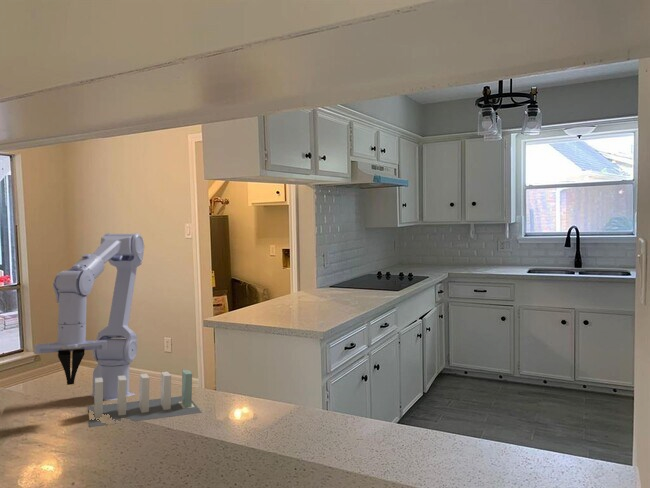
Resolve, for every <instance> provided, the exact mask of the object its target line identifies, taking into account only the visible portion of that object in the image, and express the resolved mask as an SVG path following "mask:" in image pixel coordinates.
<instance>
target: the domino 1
mask: <svg viewBox="0 0 650 488" xmlns="http://www.w3.org/2000/svg"><path fill="white" fill-rule="evenodd" d="M93 398H94V399H93V400H94V401H93V402H94V403H93V406H94V417H95V418H100V417H102V411H103V405H104V399H103V379H102V378H95V393H94V397H93Z"/></svg>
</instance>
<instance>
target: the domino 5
mask: <svg viewBox="0 0 650 488" xmlns="http://www.w3.org/2000/svg"><path fill="white" fill-rule="evenodd" d="M181 371H182V372H181V376H182V377H181V379H182V380H181V396H182V403H183V405H184V407H192V401H193V400H192V399H193V395H192V394H193V373H192V371H190V369H183V370H181Z"/></svg>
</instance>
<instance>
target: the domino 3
mask: <svg viewBox="0 0 650 488" xmlns="http://www.w3.org/2000/svg"><path fill="white" fill-rule="evenodd" d="M149 400H150V377H149V375H148V373H139V400H138V401H139V408H140V410H141V413H144V412H149Z"/></svg>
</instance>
